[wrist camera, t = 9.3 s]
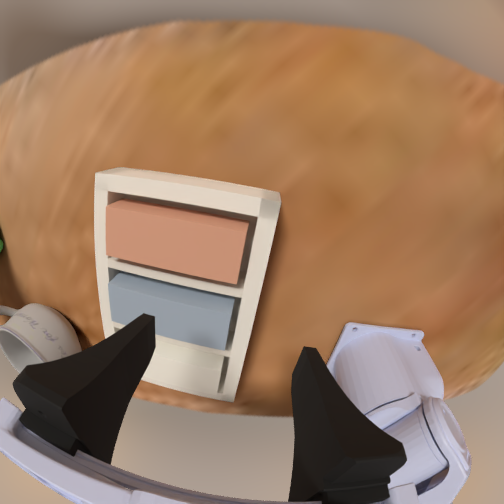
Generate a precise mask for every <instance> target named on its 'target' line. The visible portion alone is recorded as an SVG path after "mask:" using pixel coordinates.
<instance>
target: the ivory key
mask: <svg viewBox="0 0 504 504" xmlns="http://www.w3.org/2000/svg"><path fill="white" fill-rule="evenodd" d="M223 361H224V356H222V355H217V354H212V353H208V352H203V351H199V350H195V349H190V348H186V347H182V346H178V345H174V344H170V343H167V342H163V341H159V340H156V348H155V350H154V353H153V356H152V358H151V361H150V364H149V365H148V367H147V369H146V371H145V373H144V375H143V376H144V377H147V378H150V379H153V380H157V381H160V382H164V383H167V384H171V385H175V386H178V387H182V388H186V389H190V390H194V391H199V392H203V393H208V394H212V395H217V392H218V387H219V382H220V377H221V372H222V367H223Z"/></svg>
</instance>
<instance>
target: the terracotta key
mask: <svg viewBox="0 0 504 504" xmlns="http://www.w3.org/2000/svg"><path fill="white" fill-rule="evenodd" d="M249 222H250V221H248V220H243V219H237V218H232V217H227V216H222V215H216V214H211V213H206V212H200V211H195V210H189V209H184V208H178V207H172V206H166V205H160V204H155V203H149V202H142V201H136V200H130V199H124V198H123V199H121V200H118V201H116V202H114V203H112V204H110V205H108V206H106V255H108V256H112V257H116V258H120V259H124V260H128V261H132V262H136V263H141V264H145V265H149V266H153V267H158V268H162V269H166V270H171V271H175V272H180V273H184V274H189V275H193V276H198V277H203V278H207V279H212V280H217V281H222V282H227V283H232V284H237V281H238V277H239V273H240V269H241V264H242V258H243V253H244V248H245V243H246V237H247V232H248V227H249Z"/></svg>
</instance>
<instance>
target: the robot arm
mask: <svg viewBox="0 0 504 504" xmlns="http://www.w3.org/2000/svg"><path fill="white" fill-rule="evenodd" d="M355 327H356V329H353V328H355ZM412 334H413V335H412ZM423 337H424V333H423V331H421V330H410V329H401V328H392V327H383V326H375V325H367V324H359V323H352V322H350V323H347V324H346V325H345V326H344V329H343V331H342V333H341V335H340V337H339V339H338V342H337V344H336V346H335V348H334V350H333V352H332V354H331V356H330V358H329V360H328V362H327V364H325V363H324V361H323V359H322V357H321V356H320V354H319V352H318V351H317V349H316V348H312V347H303V350H302V352H301V355H300V357H299V359H298V362H297V364H296V367H295V369H294V371H293V374H292V387H291V395H292V407H293V418H294V431H295V441H294V459H293V470H292V479H291V487H290V493H289V499H288V502H276V501H259V500H248V499H239V498H230V497H224V496H218V495H212V494H206V493H201V492H196V491H192V490H187V489H183V488H179V487H175V486H171V485H168V484H164V483H161V482H157V481H154V480H150V479H147V478H144V477H141V476H139V475H135V474H133V473H130V472H127V471H125V470H122V469H120V468H117V467H115V466H112V465H111V460H112V456H113V451H114V447H115V443H116V440H117V436H118V433H119V430H120V427H121V424H122V421H123V418H124V415H125V412H126V410H127V407H128V404H129V402H130V400H131V397H132V395H133V394H134V392H135V390H136V388H137V386H138V384H139V382H140V380H141V379H142V377H143V375H144V373H145V371H146V369H147V367H148V365H149V364H150V361H151V358H152V356H153V353H154V350H155V348H156V338H155V316H152V315H148V314H145V313H143V314H142V315H140V316H139V317H137V318H136V319H134V320H133V321H132V322H130V323H129V324H127V325H126V326H124V327H123V328H122V329H120V330H119V331H117V332H116V333H114V334H113V335H111V336H109V337H108V338H106V339H104V340H103V341H101V342H99V343H97V344H96V345H94V346H92V347H90V348H87V349H85V350H83V351H81V352H78V353H76V354H73V355H70V356H67V357H64V358H61V359H58V360H54V361H50V362H45V363H39V364H32V365H27V366H26V367H25V368H24V369H23V370H22V372H21V373H20V374H19V375H18V377H17V378H16V379H15V380H14V382H13V387H14V390H15V392H16V394H17V396H18V397H19V399H20V400H21V401H22V403H23V405H24V406H25V408H26V409H25V411H24V412H22V411H21V410H20V409H19V408H18V407H16V406H15V405H14V404H12V403H11V402H10V401H8V400H7V399H6V398H2V399H1V400H0V451H1V452H2V453H3V454H4V455H5V456H6V457H8V458H9V459H10V460H11V461H13V462H14V463H15V464H17V465H18V466H19V467H20V468H22V469H23V470H24V471H26V472H27V473H28V474H30V475H31V476H33V477H34V478H35V479H37V480H38V481H40V482H41V483H43V484H44V485H46V486H47V487H49V488H50V489H52V490H54V491H55V492H57V493H58V494H60V495H62V496H63V497H65V498H67V499H69V500H70V501H72V502H74V503H76V504H453V503H452V501H453V500H454V498H455V497H456V495H457V494H458V492H459V491H460V490H461V488H462V486H463V485H464V483H465V482H466V480H467V479H468V477H469V475H470V471H471V455H470V453H469V450H468V448H467V446H466V443H465V439H464V436H463V433H462V431H461V429H460V426H459V424H458V422H457V420H456V419H455V417H454V415H453V413H452V412H451V410H450V409H449V407H448V406H447V405H446V403H445V402H444V401H443V396H444V385H443V380H442V377H441V375H440V373H439V371H438V370H437V368H436V366H435V364H434V362H433V361H432V359H431V357H430V355H429V354H428V352H427V350H426V349H425V347H424V345H423V344H422V342H421V340H422V338H423ZM126 488H128V489H126ZM129 489H130V490H129ZM132 490H133V491H132Z"/></svg>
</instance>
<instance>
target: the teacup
mask: <svg viewBox="0 0 504 504" xmlns="http://www.w3.org/2000/svg"><path fill="white" fill-rule="evenodd" d="M0 315H7V316H11V318H10V319H9V320H8V321H7V322H6V324H4V325H0V347H1V349H2V350H3V352H4V354H5V356H6V357H7V359H8V360H9V361H10V363H11V364H12V366H13V367H14V368H15V369H16V370H17V371H18V373H19V374H20V373H21V372H22V370H23V369H24V368H25V367H26V366H27V365H32V364H39V363H45V362H50V361H54V360H58V359H61V358H64V357H67V356H70V355H73V354H76V353H78V352H81V351H82V350H81V346H80V343H79V340H78V337H77V334H76V332H75V330H74V328H73V327H72V325H71V324H70V323H69V321H68V320H67V319H66V318H65V317H64V316H63V315H62V314H61V313H59V312H58V311H57V310H55V309H53V308H51V307H48V306H44V305H42V304H38V303H32V304H28V305H26V306H24V307H23V308H21V309H18V310H17V309H14V308H11V307H7V306H2V305H0Z"/></svg>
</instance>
